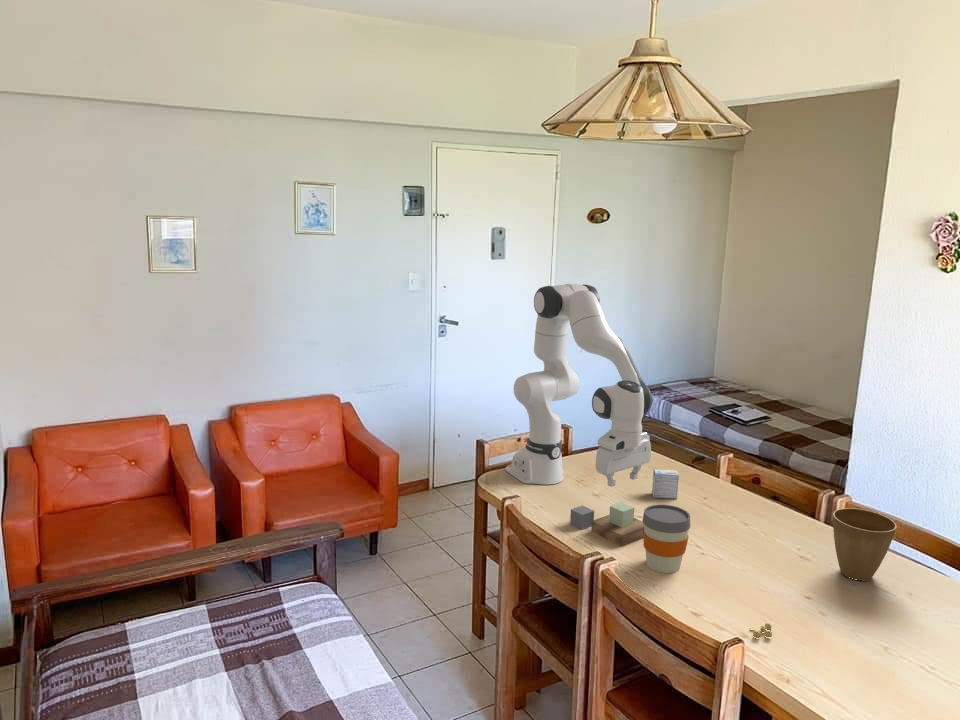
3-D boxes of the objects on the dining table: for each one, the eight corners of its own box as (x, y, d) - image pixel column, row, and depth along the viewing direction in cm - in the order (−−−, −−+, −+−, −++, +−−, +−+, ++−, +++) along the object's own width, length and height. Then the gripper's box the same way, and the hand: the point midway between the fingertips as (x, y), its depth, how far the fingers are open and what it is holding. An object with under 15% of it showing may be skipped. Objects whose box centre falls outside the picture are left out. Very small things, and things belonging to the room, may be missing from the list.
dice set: (769, 630, 172) (770, 623, 171) (775, 643, 167) (776, 635, 166) (747, 629, 172) (748, 621, 172) (752, 641, 167) (753, 634, 167)
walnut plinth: (591, 533, 221) (591, 520, 220) (618, 523, 228) (619, 511, 227) (621, 548, 211) (622, 535, 210) (649, 537, 218) (649, 524, 218)
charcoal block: (570, 524, 225) (570, 509, 224) (581, 520, 228) (582, 505, 227) (581, 530, 222) (582, 514, 220) (593, 526, 225) (594, 510, 224)
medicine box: (675, 494, 250) (677, 470, 248) (677, 499, 246) (679, 474, 244) (651, 493, 251) (653, 468, 249) (653, 498, 246) (655, 473, 245)
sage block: (609, 521, 219) (610, 506, 218) (620, 517, 222) (621, 502, 221) (621, 527, 215) (622, 511, 214) (633, 523, 218) (634, 507, 217)
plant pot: (864, 594, 187) (872, 535, 184) (814, 568, 200) (820, 513, 197) (900, 581, 194) (909, 524, 191) (850, 557, 207) (857, 503, 204)
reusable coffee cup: (688, 558, 205) (692, 508, 202) (685, 579, 193) (689, 526, 190) (642, 551, 209) (646, 501, 206) (636, 571, 197) (640, 519, 194)
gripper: (641, 428, 222) (637, 471, 225) (593, 440, 210) (590, 486, 213) (658, 433, 217) (654, 478, 220) (609, 447, 205) (606, 493, 208)
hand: (622, 482), depth 216 cm, fingers open, 8 cm apart
